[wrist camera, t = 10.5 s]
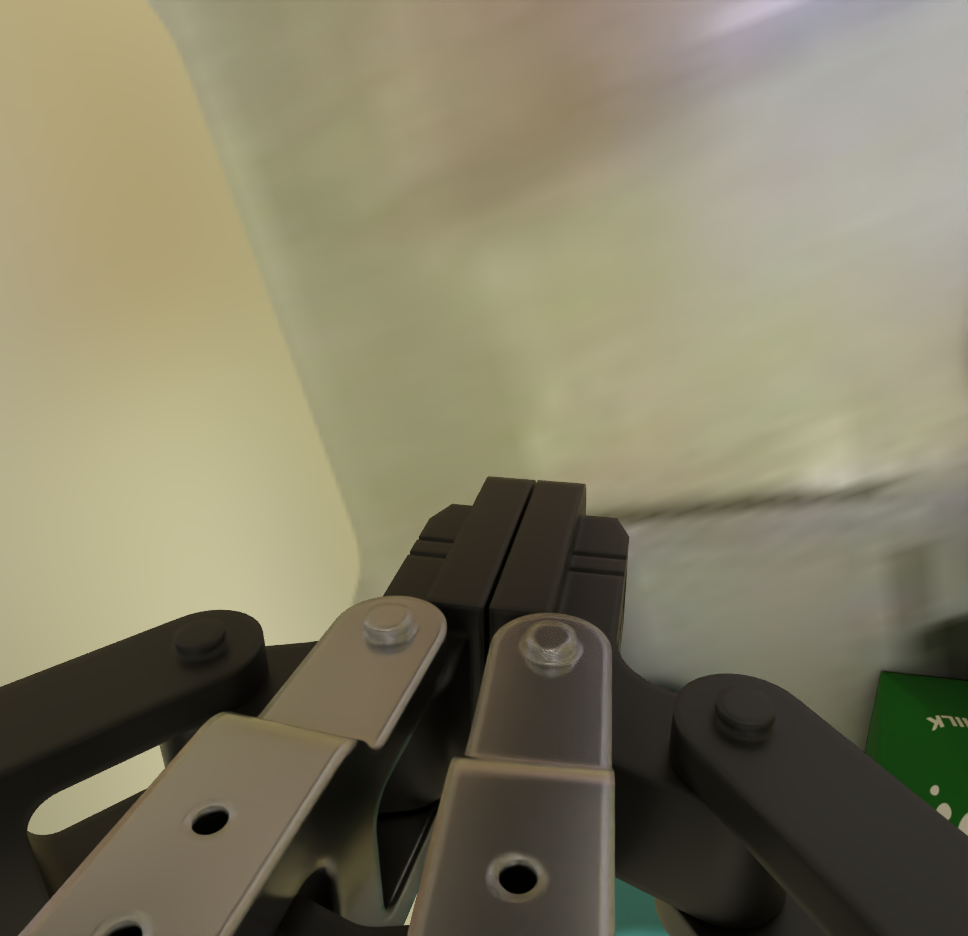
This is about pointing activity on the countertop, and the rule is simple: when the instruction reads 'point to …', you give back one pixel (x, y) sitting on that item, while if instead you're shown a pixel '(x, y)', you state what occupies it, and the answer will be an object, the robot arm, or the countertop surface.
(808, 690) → the countertop surface
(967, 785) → the milk carton
